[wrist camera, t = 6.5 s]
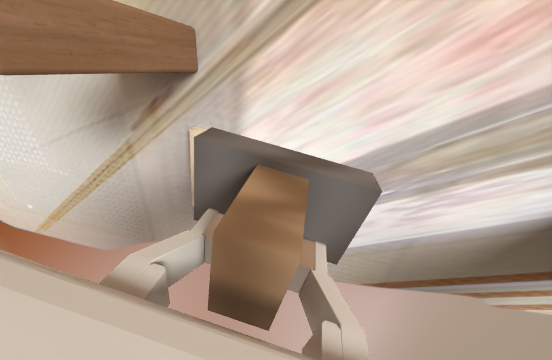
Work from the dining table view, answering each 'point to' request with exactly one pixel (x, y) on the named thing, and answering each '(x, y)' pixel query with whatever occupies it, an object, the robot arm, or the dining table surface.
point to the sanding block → (271, 217)
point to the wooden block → (90, 39)
